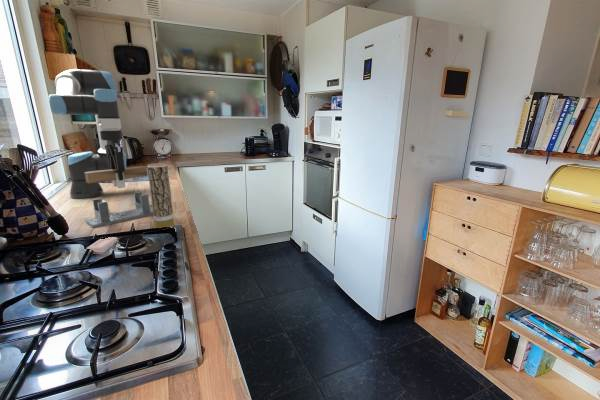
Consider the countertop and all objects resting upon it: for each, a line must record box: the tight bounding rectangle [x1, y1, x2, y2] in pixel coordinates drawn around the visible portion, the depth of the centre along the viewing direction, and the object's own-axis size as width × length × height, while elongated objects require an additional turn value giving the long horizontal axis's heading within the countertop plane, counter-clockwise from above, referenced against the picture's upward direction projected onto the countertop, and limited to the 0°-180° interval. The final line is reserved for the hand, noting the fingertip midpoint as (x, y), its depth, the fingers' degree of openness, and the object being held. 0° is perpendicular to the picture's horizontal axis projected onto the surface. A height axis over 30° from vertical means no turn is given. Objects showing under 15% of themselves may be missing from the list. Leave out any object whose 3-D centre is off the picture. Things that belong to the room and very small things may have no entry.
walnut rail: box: [84, 165, 148, 183], centre depth 127 cm, size 4×22×4 cm, turn 137°
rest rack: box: [102, 197, 135, 212], centre depth 143 cm, size 6×19×5 cm, turn 137°
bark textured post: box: [146, 162, 175, 229], centre depth 116 cm, size 7×7×25 cm
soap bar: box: [86, 236, 119, 252], centre depth 101 cm, size 5×9×2 cm, turn 2°
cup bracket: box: [84, 191, 154, 229], centre depth 131 cm, size 10×26×9 cm, turn 137°
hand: (119, 186), depth 128 cm, fingers closed on walnut rail, 4 cm apart
